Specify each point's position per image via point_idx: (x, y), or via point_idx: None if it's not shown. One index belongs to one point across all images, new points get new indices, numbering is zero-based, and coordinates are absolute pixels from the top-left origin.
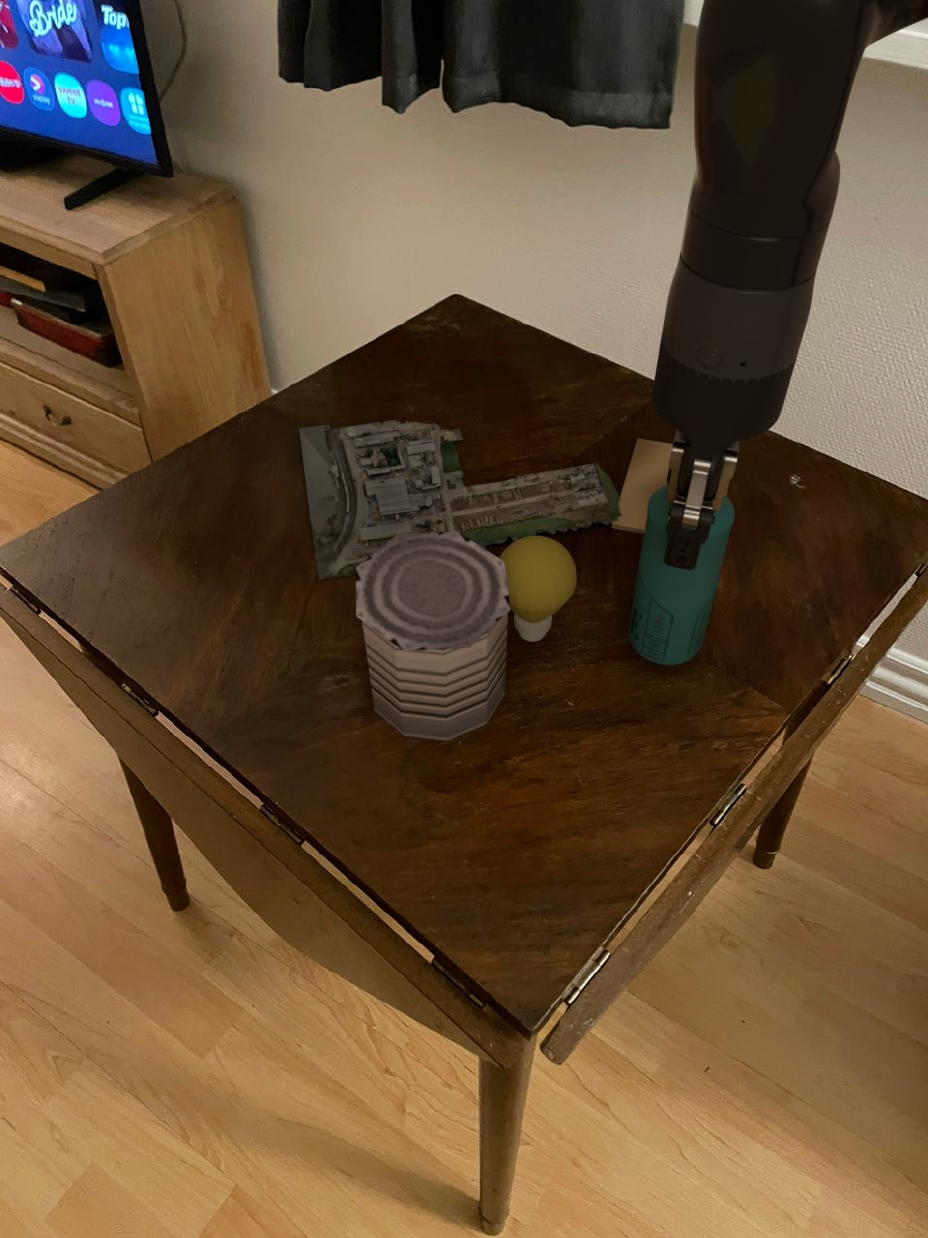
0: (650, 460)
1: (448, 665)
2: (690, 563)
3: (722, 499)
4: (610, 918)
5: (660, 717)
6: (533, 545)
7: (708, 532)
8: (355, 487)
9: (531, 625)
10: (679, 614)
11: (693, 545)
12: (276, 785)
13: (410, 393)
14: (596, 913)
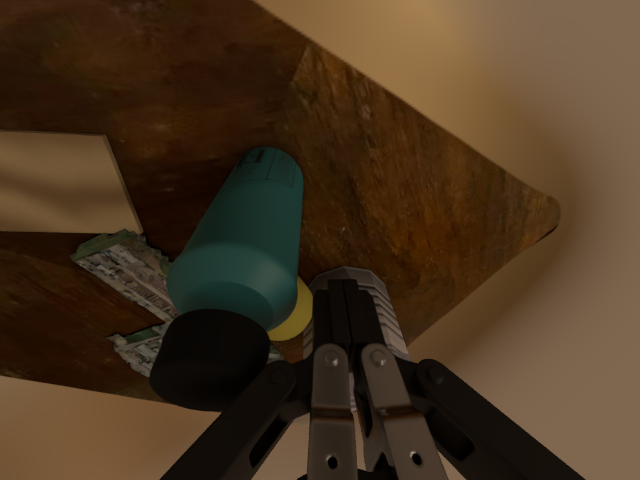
0: (22, 215)
1: (404, 345)
2: (373, 299)
3: (437, 452)
4: (515, 179)
5: (344, 166)
6: (276, 336)
7: (579, 475)
8: None
9: None
10: (299, 205)
11: (381, 331)
12: (416, 334)
13: (92, 363)
14: (510, 187)
